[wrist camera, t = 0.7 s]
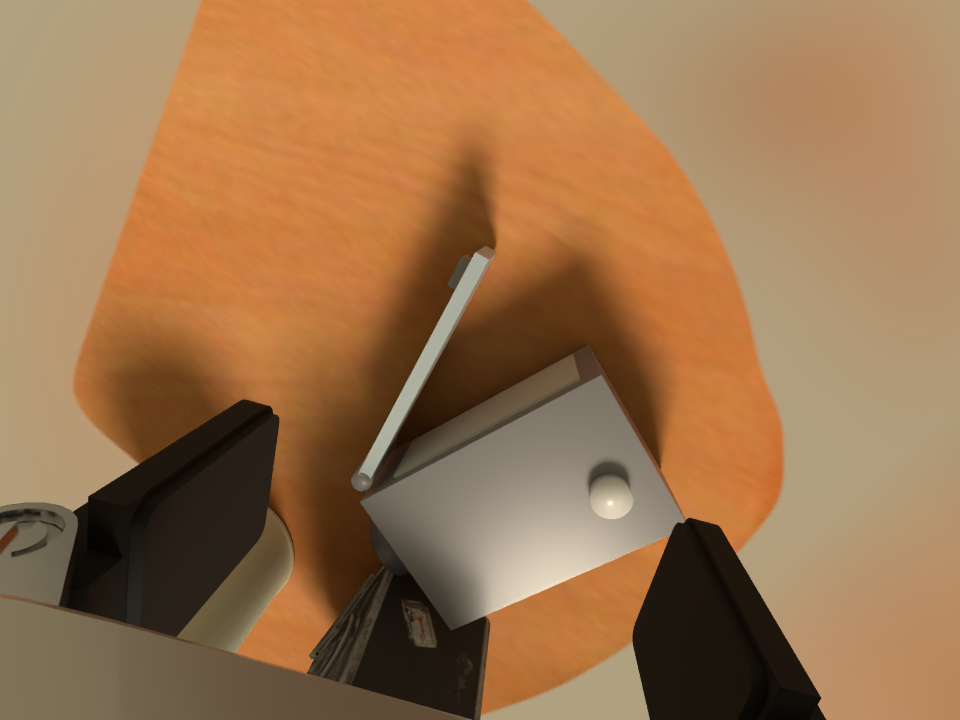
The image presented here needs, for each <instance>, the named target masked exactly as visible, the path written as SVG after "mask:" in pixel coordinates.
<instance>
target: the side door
mask: <svg viewBox="0 0 960 720" xmlns="http://www.w3.org/2000/svg"><path fill="white" fill-rule="evenodd" d="M496 253H497V252H496V251H495V250H493V249H491V248H489V247H488V246H484V247H483V248H481V249H480V250H478V251H476V252H475V254H474V256H473V257H471V256H469V255H467V254H465V255H463V256H462V257H461V259H460V260H459V262H458V264H457V266H456V268H455V270H454V272H453V274H452V276H451V278H450V280H449V281H448V283H447V286H449V287H450V288H452V289H454V290H455V291H454V293H453V295H452V297H451V299H450V301H449V303H448V305H447V307H446V308H445V310H444V312H443V314H442V316H441V318H440V320H439V322H438V324H437V325H436V327H435V329H434V331H433V333H432V335H431V337H430V339H429V341H428V342H427V344H426V346H425V348H424V350H423V352H422V354H421V356H420V358H419V359H418V361H417V363H416V365H415V367H414V369H413V371H412V373H411V375H410V376H409V378H408V380H407V382H406V384H405V386H404V388H403V390H402V392H401V393H400V395H399V397H398V399H397V401H396V403H395V405H394V407H393V409H392V410H391V412H390V414H389V416H388V418H387V420H386V422H385V424H384V426H383V427H382V429H381V431H380V433H379V435H378V437H377V439H376V441H375V443H374V444H373V446H372V448H371V450H370V452H369V453H368V455H367V456H366V458H365V459H364V460H363V462H362V463H361V465H360V466H359V468H358V469H357V470H356V472H355V473H354V475H353V476H352V478H351V484H352V486H353V487H354V488H355V489H356V490H358V491H367V490H368V489H369V488H370V487H371V485H372V484H373V482H374V480H375V479H376V477H377V475H378V474H379V472H380V470H381V469H382V467H383V466H384V464H385V462H386V461H387V459H388V457H389V456H390V454H391V452H392V451H393V449H394V447H395V446H396V444H397V438H396V437H397V435H398V434H399V432H400V430H401V428H402V426H403V424H404V422H405V421H406V419H407V417H408V415H409V413H410V411H411V410H412V408H413V406H414V404H415V402H416V400H417V399H418V397H419V395H420V393H421V391H422V389H423V387H424V386H425V384H426V382H427V380H428V378H429V376H430V375H431V373H432V371H433V369H434V367H435V365H436V364H437V362H438V360H439V358H440V356H441V354H442V352H443V351H444V349H445V347H446V345H447V343H448V341H449V340H450V338H451V336H452V334H453V332H454V330H455V328H456V327H457V325H458V323H459V321H460V319H461V317H462V316H463V314H464V312H465V310H466V308H467V306H468V305H469V303H470V301H471V299H472V297H473V295H474V293H475V292H476V290H477V288H478V286H479V284H480V282H481V281H482V279H483V277H484V275H485V273H486V271H487V269H488V268H489V266H490V264H491V262H492V260H493V258H494V257H495V255H496Z"/></svg>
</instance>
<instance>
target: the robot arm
mask: <svg viewBox="0 0 960 720" xmlns="http://www.w3.org/2000/svg"><path fill="white" fill-rule="evenodd" d="M278 428H279V417H278V415H275V414H273V410H272V408H271V406H267V405H263V404H260V403H256V402H252V401H248V400H245V399H244V400H241V401H239V402H238V403H236V404H234V405H233V406H231V407H230V408H228V409H227V410H225V411H223V412H222V413H220V414H219V415H217V416H215V417H214V418H212V419H211V420H209V421H207V422H206V423H204V424H203V425H201V426H200V427H198V428H196V429H195V430H193V431H192V432H190V433H188V434H187V435H185V436H184V437H182V438H180V439H179V440H177V441H176V442H174V443H173V444H171V445H169V446H168V447H166V448H165V449H163V450H161V451H160V452H158V453H157V454H155V455H154V456H152V457H150V458H149V459H147V460H146V461H144V462H142V463H141V464H139V465H138V466H136V467H135V468H133V469H131V470H130V471H128V472H127V473H125V474H123V475H122V476H120V477H119V478H117V479H116V480H114V481H112V482H111V483H109V484H108V485H106V486H104V487H103V488H101V489H100V490H98V491H96V492H95V493H94V494H92V495H90V496H89V497H88V502H87V503H86V504H84V505H83V506H81V507H80V508H78V509H76V510H75V511H74V512H72V511H71V510H69V509H67V508H64V507H62V506H60V505H55V504H49V503H20V504H12V505H6V506H2V507H0V720H471V719H468V718H464V717H461V716H457V715H454V714H450V713H447V712H443V711H440V710H436V709H432V708H429V707H425V706H422V705H418V704H415V703H411V702H408V701H404V700H401V699H397V698H393V697H390V696H386V695H383V694H379V693H376V692H372V691H369V690H365V689H361V688H358V687H354V686H351V685H347V684H344V683H340V682H337V681H333V680H329V679H326V678H322V677H319V676H315V675H312V674H308V673H304V672H301V671H297V670H293V669H290V668H286V667H283V666H279V665H275V664H272V663H268V662H265V661H261V660H257V659H254V658H250V657H247V656H243V655H239V654H236V653H232V652H228V651H225V650H221V649H218V648H214V647H210V646H207V645H203V644H200V643H196V642H192V641H189V640H185V639H181V638H178V637H177V636H178V635H179V634H180V632H181V631H182V630H183V629H184V628H185V626H186V625H187V624H188V623H189V622H190V621H191V619H192V618H193V617H194V616H195V615H196V614H197V612H198V611H199V610H200V609H201V608H202V606H203V605H204V604H205V603H206V602H207V601H208V599H209V598H210V597H211V596H212V595H213V594H214V592H215V591H216V590H217V589H218V588H219V586H220V585H221V584H222V583H223V582H224V581H225V579H226V578H227V577H228V576H229V575H230V574H231V572H232V571H233V570H234V569H235V568H236V566H237V565H238V564H239V563H240V562H241V561H242V559H243V558H244V557H245V556H246V555H247V554H248V552H249V551H250V550H251V549H252V548H253V546H254V545H255V544H256V543H257V542H258V540H259V539H260V537H261V535H262V533H263V530H264V527H265V523H266V516H267V509H268V501H269V494H270V487H271V479H272V472H273V465H274V457H275V450H276V443H277V435H278ZM633 647H634V651H635V656H636V660H637V664H638V669H639V673H640V678H641V682H642V687H643V691H644V695H645V700H646V704H647V709H648V712H649V717H650V720H826V719H825V717H824V715H823V713H822V712H821V710H820V708H819V706H818V703H819V701H820V699H821V697H820V695H819V693H818V692H817V690H816V688H815V687H814V685H813V683H812V682H811V680H810V678H809V677H808V675H807V673H806V672H805V670H804V668H803V666H802V665H801V663H800V661H799V660H798V658H797V656H796V654H795V653H794V651H793V649H792V648H791V646H790V644H789V643H788V641H787V639H786V638H785V636H784V634H783V633H782V631H781V629H780V627H779V626H778V624H777V622H776V621H775V619H774V618H773V616H772V614H771V612H770V611H769V609H768V607H767V606H766V604H765V602H764V601H763V599H762V597H761V595H760V594H759V592H758V590H757V589H756V587H755V585H754V584H753V582H752V580H751V578H750V577H749V575H748V574H747V572H746V570H745V568H744V567H743V565H742V563H741V562H740V560H739V558H738V556H737V555H736V553H735V551H734V550H733V548H732V546H731V545H730V543H729V541H728V540H727V538H726V536H725V535H724V533H723V531H722V529H721V528H720V527H719V526H718V525H715V524H711V523H708V522H704V521H700V520H696V519H693V518H688V519H687V520H686V521H685V522H684V523H680V522H678V523H676V525H675V526H674V528H673V530H672V533H671V535H670V538H669V540H668V543H667V545H666V548H665V550H664V553H663V555H662V558H661V560H660V563H659V565H658V568H657V570H656V573H655V575H654V578H653V580H652V583H651V585H650V588H649V590H648V593H647V595H646V598H645V600H644V603H643V605H642V608H641V610H640V613H639V615H638V618H637V620H636V623H635V626H634V630H633Z"/></svg>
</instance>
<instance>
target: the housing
mask: <svg viewBox="0 0 960 720" xmlns="http://www.w3.org/2000/svg"><path fill="white" fill-rule="evenodd" d="M360 503H361V505H362V506H363V508H364V509H365V510H366V512H367V513H368V515H369V516H370V517H371V521H370V536H371V541H372V544H373V547H374V550H375V552H376V554H377V556H378V558H379V560H380V561H381V563H382V564H383V565H384V567H385V568H386V569H387V570H388V571H390V572H391V573H392V574H395V575H398V576H401V575H404V574H406V573H408V572H410V574H411V575H412V576H413V578H414V579H415V581H416V582H417V583H418V585H419V586H420V588H421V589H422V590H423V592H424V593H425V595H426V596H427V597H428V599H429V600H430V602H431V603H432V604H433V606H434V607H435V609H436V610H437V611H438V613H439V614H440V616H441V617H442V618H443V620H444V621H445V623H446V624H447V625H448V627H449V628H450V630H454V629H456V628H458V627H460V626H463V625H465V624H467V623H470V622H472V621H474V620H477V619H479V618H481V617H483V616H486V615H488V614H490V613H493V612H495V611H497V610H500V609H502V608H504V607H506V606H509V605H511V604H513V603H516V602H518V601H520V600H522V599H525V598H527V597H529V596H532V595H534V594H536V593H539V592H541V591H543V590H545V589H548V588H550V587H552V586H555V585H557V584H559V583H561V582H564V581H566V580H568V579H571V578H573V577H575V576H578V575H580V574H582V573H584V572H587V571H589V570H591V569H594V568H596V567H598V566H601V565H603V564H605V563H607V562H610V561H612V560H614V559H617V558H619V557H621V556H623V555H626V554H628V553H630V552H633V551H635V550H637V549H640V548H642V547H644V546H646V545H649V544H651V543H653V542H656V541H658V540H660V539H662V538H665V537H667V536H669V535H671V533H672V530H673V528H674V526H675V525H676V523H678V522H680V523H684V522H685V521H686V520H685V518H684V515H683V513H682V511H681V509H680V507H679V505H678V503H677V501H676V499H675V497H674V495H673V493H672V491H671V489H670V487H669V485H668V483H667V481H666V479H665V477H664V475H663V473H662V471H661V469H660V467H659V465H658V464H657V462H656V460H655V459H654V457H653V455H652V453H651V452H650V450H649V448H648V446H647V445H646V443H645V441H644V439H643V438H642V436H641V434H640V432H639V431H638V429H637V427H636V425H635V424H634V422H633V420H632V418H631V417H630V415H629V413H628V411H627V410H626V408H625V406H624V404H623V403H622V401H621V399H620V398H619V396H618V394H617V392H616V391H615V389H614V387H613V385H612V384H611V382H610V380H609V378H608V377H607V375H606V373H605V371H604V370H603V368H602V366H601V364H600V363H599V361H598V359H597V357H596V356H595V354H594V352H593V350H592V349H591V347H590V345H589V344H588V345H586V346H584V347H582V348H580V349H579V350H577V351H575V352H573V353H571V354H569V355H568V356H566V357H564V358H562V359H560V360H558V361H557V362H555V363H553V364H551V365H549V366H547V367H546V368H544V369H542V370H540V371H538V372H536V373H535V374H533V375H531V376H529V377H527V378H525V379H524V380H522V381H520V382H518V383H516V384H514V385H512V386H511V387H509V388H507V389H505V390H503V391H501V392H500V393H498V394H496V395H494V396H492V397H490V398H489V399H487V400H485V401H483V402H481V403H479V404H478V405H476V406H474V407H472V408H470V409H468V410H467V411H465V412H463V413H461V414H459V415H457V416H456V417H454V418H452V419H450V420H448V421H446V422H445V423H443V424H441V425H439V426H437V427H435V428H433V429H432V430H430V431H428V432H426V433H424V434H422V435H421V436H419V437H417V438H415V439H413V440H411V441H410V442H408V443H406V444H404V445H402V446H400V447H399V448H397V449H395V450H393V451H392V452H391V454H390V456H389V457H388V459H387V461H386V462H385V464H384V466H383V467H382V469H381V470H380V472H379V474H378V475H377V477H376V479H375V480H374V482H373V484H372V485H371V487H370V488H369V489H368V490H367V491H366V493H365V494H364V496H363V498H362V499H361V501H360Z"/></svg>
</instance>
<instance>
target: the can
mask: <svg viewBox="0 0 960 720" xmlns="http://www.w3.org/2000/svg"><path fill="white" fill-rule="evenodd" d="M293 566H294V548H293V543H292V540H291V537H290V535H289V533H288V530H287V528H286V527H285V525H284V524H283V522H282V520H281V519H280V518H279V517H278V516H277V515H276V513H275V512H274V511H273V510H271V509H270V508H269V507H268V509H267V516H266V523H265V527H264V530H263V533H262V535H261V537H260V539H259V540H258V542H257V543H256V544H255V545H254V546H253V548H252V549H251V550H250V551H249V552H248V554H247V555H246V556H245V557H244V558H243V559H242V561H241V562H240V563H239V564H238V565H237V566H236V568H235V569H234V570H233V571H232V572H231V574H230V575H229V576H228V577H227V578H226V579H225V581H224V582H223V583H222V584H221V585H220V586H219V588H218V589H217V590H216V591H215V592H214V594H213V595H212V596H211V597H210V598H209V599H208V601H207V602H206V603H205V604H204V605H203V606H202V608H201V609H200V610H199V611H198V612H197V614H196V615H195V616H194V617H193V618H192V619H191V621H190V622H189V623H188V624H187V625H186V626H185V628H184V629H183V630H182V631H181V632H180V634H179V635H178V636H177V637H178V638H181V639H185V640H189V641H192V642H196V643H200V644H203V645H207V646H210V647H214V648H218V649H221V650H225V651H228V652H232V653H236V652H237V650H238V649H239V647H240V646H241V644H242V643H243V641H244V640H245V638H246V637H247V636H248V634H249V633H250V631H251V630H252V628H253V627H254V625H255V624H256V622H257V621H258V620H259V618H260V617H261V615H262V614H263V612H264V611H265V609H266V608H267V607H268V605H269V604H270V603H271V601H272V600H273V598H274V597H275V596H276V594H277V593H279V592H280V591H281V590H282V588H283V587H284V586H285V585H286V583H287V582H288V580H289V578H290V576H291V573H292V570H293Z"/></svg>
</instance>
